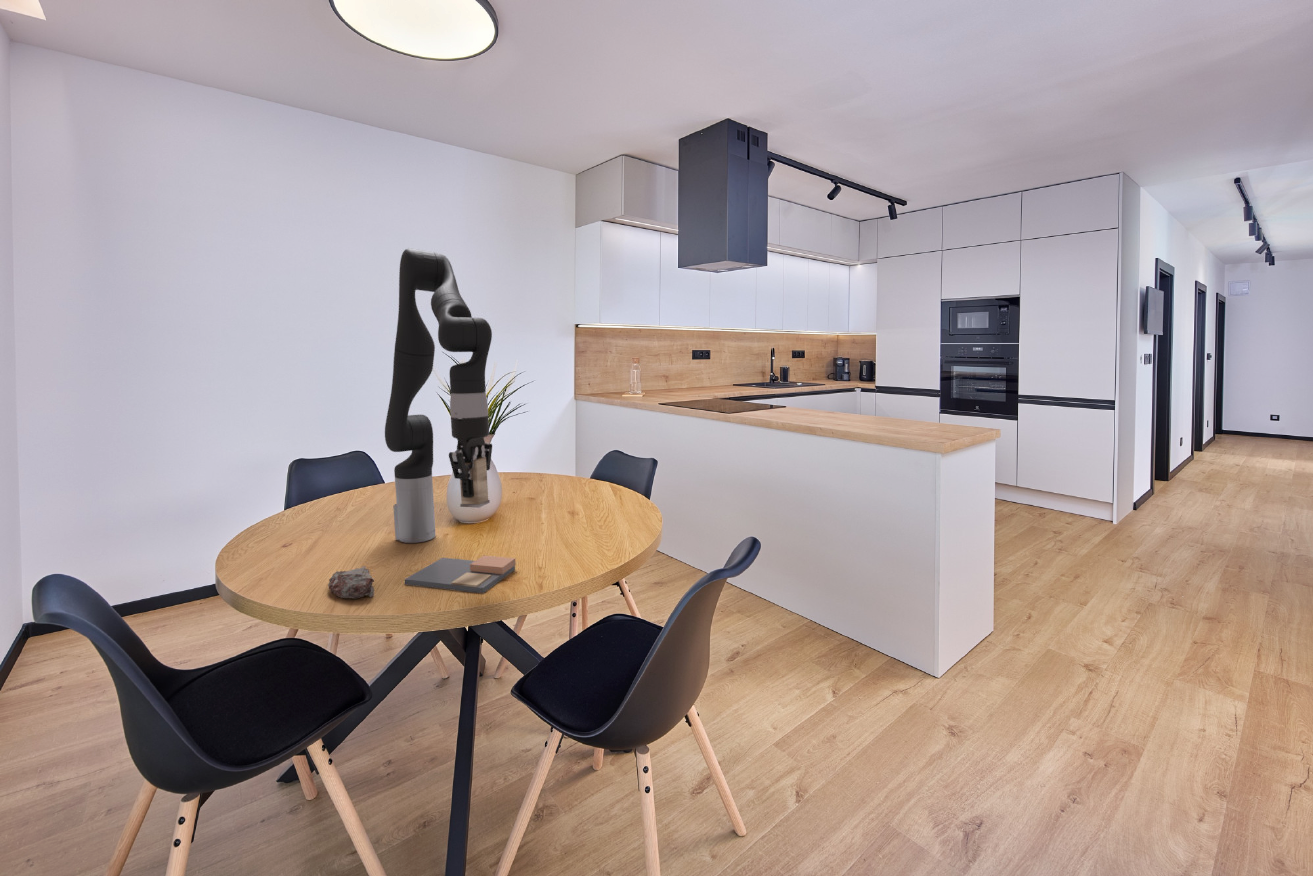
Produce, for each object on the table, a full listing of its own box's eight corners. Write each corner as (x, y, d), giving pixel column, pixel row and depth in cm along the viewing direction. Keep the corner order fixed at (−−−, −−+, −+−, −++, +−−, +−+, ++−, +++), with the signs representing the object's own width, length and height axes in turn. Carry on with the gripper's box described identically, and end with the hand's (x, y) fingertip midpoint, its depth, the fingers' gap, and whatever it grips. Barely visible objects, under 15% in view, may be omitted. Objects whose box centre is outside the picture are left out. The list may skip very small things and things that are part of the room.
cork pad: (451, 584, 127) (451, 582, 127) (466, 574, 133) (466, 572, 133) (476, 587, 125) (476, 585, 125) (491, 576, 131) (491, 574, 131)
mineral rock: (326, 584, 130) (324, 565, 129) (366, 577, 134) (365, 558, 134) (333, 609, 118) (331, 588, 117) (377, 600, 122) (375, 579, 122)
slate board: (404, 584, 130) (404, 579, 130) (442, 562, 143) (442, 557, 143) (483, 593, 125) (483, 587, 125) (515, 569, 139) (514, 564, 138)
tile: (469, 564, 134) (502, 567, 132) (484, 555, 140) (515, 558, 138) (470, 571, 134) (502, 575, 132) (484, 562, 140) (515, 565, 138)
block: (460, 506, 126) (457, 460, 125) (471, 501, 131) (468, 456, 129) (479, 507, 125) (476, 460, 124) (489, 502, 130) (487, 457, 128)
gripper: (471, 411, 133) (475, 486, 135) (433, 417, 119) (439, 501, 122) (502, 411, 131) (505, 488, 134) (467, 418, 118) (472, 503, 120)
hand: (474, 494), depth 128 cm, fingers closed on block, 4 cm apart
